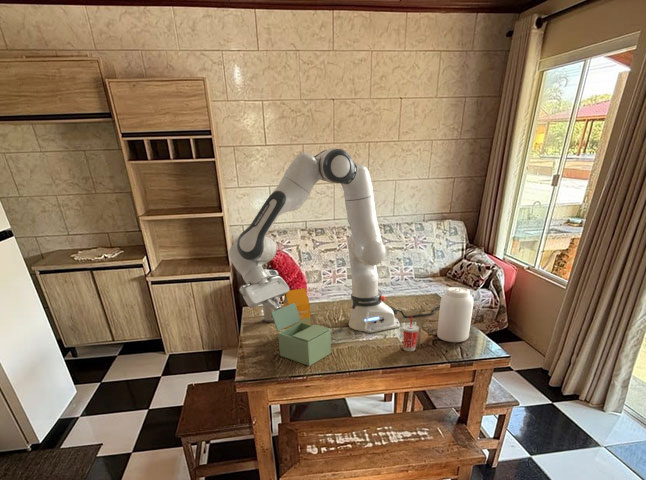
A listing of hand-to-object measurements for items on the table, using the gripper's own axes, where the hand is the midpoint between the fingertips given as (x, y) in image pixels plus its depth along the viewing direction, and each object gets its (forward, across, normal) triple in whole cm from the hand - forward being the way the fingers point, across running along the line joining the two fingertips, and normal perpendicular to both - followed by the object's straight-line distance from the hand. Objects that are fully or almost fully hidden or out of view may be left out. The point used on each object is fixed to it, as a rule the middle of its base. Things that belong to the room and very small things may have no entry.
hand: (278, 309), depth 157 cm
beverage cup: (+42, +27, -19) cm, 53 cm away
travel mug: (-6, +18, +28) cm, 34 cm away
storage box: (+20, 0, +2) cm, 20 cm away
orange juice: (+10, +12, +12) cm, 20 cm away
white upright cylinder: (+48, +47, -26) cm, 72 cm away
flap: (+5, 0, -2) cm, 5 cm away
